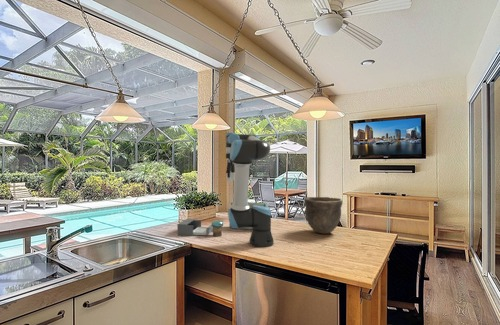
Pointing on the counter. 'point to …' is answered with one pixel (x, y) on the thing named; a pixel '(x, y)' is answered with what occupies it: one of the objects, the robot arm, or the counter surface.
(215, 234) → the post
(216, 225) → the disc
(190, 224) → the box
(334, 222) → the clay pot
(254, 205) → the radio
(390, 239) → the counter surface
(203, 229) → the tray
